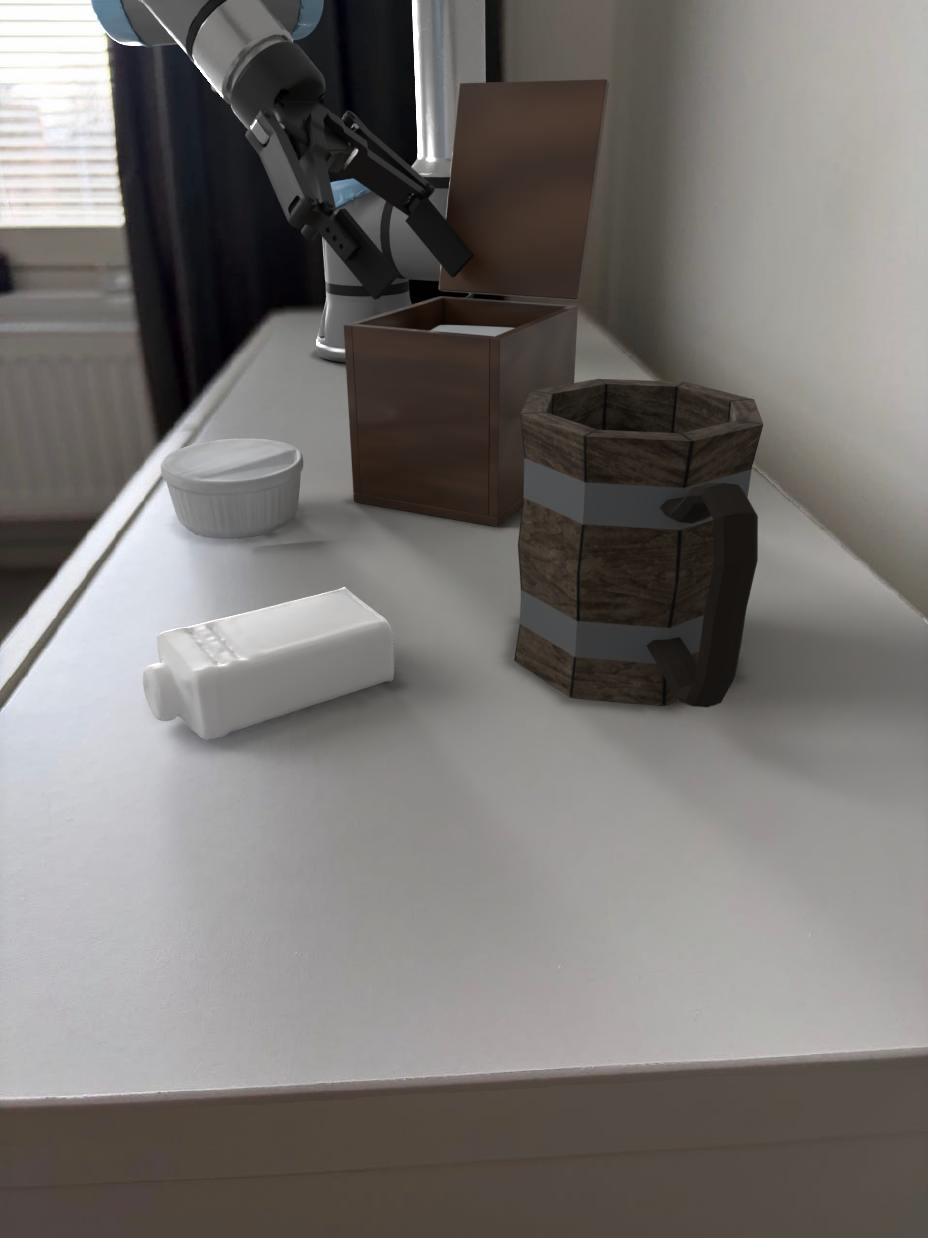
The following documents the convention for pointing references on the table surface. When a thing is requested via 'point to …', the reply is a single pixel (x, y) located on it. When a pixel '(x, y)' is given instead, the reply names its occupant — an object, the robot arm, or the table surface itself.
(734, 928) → the table surface
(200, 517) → the ramekin
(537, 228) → the lid
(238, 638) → the white bottle
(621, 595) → the mug
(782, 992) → the table surface
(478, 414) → the chest
